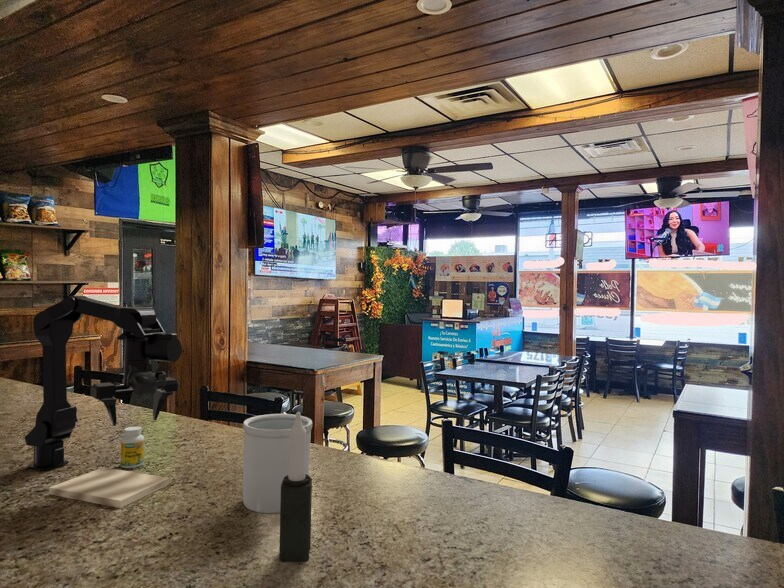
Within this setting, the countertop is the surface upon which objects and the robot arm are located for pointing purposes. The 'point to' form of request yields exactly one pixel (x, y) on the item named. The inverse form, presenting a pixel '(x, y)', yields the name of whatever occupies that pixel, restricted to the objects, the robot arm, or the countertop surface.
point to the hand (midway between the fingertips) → (135, 422)
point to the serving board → (109, 487)
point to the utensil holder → (268, 459)
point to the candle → (296, 500)
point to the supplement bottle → (132, 448)
